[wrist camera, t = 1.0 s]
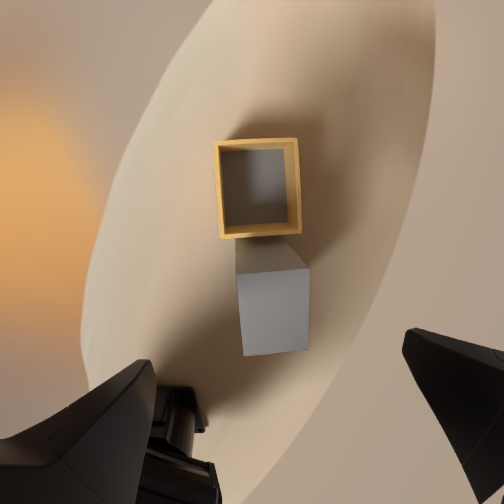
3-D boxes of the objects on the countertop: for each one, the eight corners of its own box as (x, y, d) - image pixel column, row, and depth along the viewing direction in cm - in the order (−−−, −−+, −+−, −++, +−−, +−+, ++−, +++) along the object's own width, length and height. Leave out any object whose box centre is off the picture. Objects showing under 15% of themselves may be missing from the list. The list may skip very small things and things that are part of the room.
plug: (281, 288, 20) (307, 349, 12) (239, 291, 20) (243, 356, 12) (278, 233, 19) (309, 268, 11) (235, 237, 19) (236, 274, 11)
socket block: (290, 224, 19) (302, 233, 15) (222, 229, 18) (220, 239, 15) (285, 146, 17) (297, 137, 14) (217, 150, 17) (213, 141, 14)
